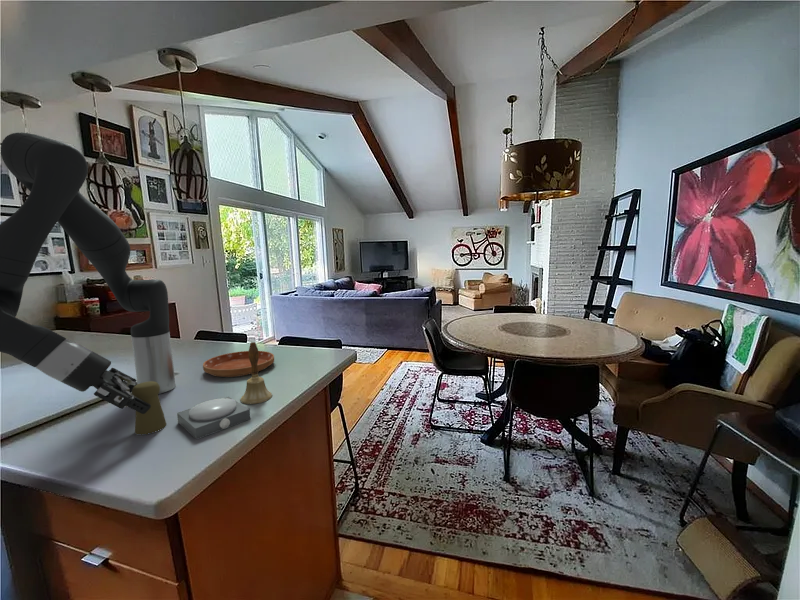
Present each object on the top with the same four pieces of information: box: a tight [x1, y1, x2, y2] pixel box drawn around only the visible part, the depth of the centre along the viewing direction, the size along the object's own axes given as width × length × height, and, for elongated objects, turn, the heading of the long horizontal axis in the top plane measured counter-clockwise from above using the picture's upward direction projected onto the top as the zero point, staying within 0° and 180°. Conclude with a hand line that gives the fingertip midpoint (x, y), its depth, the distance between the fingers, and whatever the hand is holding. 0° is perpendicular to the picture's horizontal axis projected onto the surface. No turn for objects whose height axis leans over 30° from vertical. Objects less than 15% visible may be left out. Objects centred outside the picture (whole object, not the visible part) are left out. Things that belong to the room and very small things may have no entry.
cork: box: [131, 381, 167, 436], centre depth 80 cm, size 6×6×11 cm
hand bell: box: [239, 341, 273, 405], centre depth 96 cm, size 8×8×16 cm
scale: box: [176, 396, 251, 440], centre depth 84 cm, size 12×12×4 cm
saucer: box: [202, 350, 275, 378], centre depth 123 cm, size 23×23×4 cm
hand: (149, 403), depth 80 cm, fingers open, 8 cm apart
